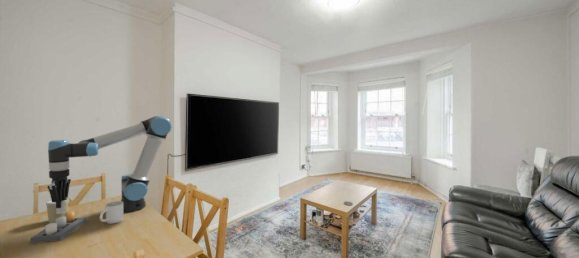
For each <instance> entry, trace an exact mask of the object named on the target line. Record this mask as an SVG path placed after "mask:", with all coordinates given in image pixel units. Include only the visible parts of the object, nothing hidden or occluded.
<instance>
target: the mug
mask: <svg viewBox="0 0 579 258" xmlns="http://www.w3.org/2000/svg"><path fill="white" fill-rule="evenodd" d="M124 213H125V212H124V209H123V202H122V201H121V200H117V201H112V202H109V203H107V204H105V208H104V209H102V210H101V211H100V213H99V220H100V222H103V223H104V222H105V223H107V224H111V225H112V224H117V223H120V222H121V221H123V220H124ZM104 214H105V218H104V217H103V216H104Z"/></svg>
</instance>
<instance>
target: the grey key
mask: <svg viewBox="0 0 579 258" xmlns="http://www.w3.org/2000/svg"><path fill="white" fill-rule="evenodd" d="M55 220H56V223H57V229H61V228H64V227H66V216H62V217H58V218H56V219H55Z"/></svg>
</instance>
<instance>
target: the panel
mask: <svg viewBox="0 0 579 258" xmlns="http://www.w3.org/2000/svg"><path fill="white" fill-rule="evenodd" d="M85 223H87V217H75V221H74V222H71V223H66V227H64V228H61V229H57V233H56V234H54V235H47V236H46V230H45V229H42V230H41V231H40V232H37V233H36V234H34V235H33V236H31V237H30V243H31V244H32V243H43V242H53V241H55V242H56V241H62V240H63V239H64V238H65V237H67V236H69V235H70V234H72V233H73V232H74V231H76V230H77V229H78V228H79V227H81V226H82V225H84V224H85Z"/></svg>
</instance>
